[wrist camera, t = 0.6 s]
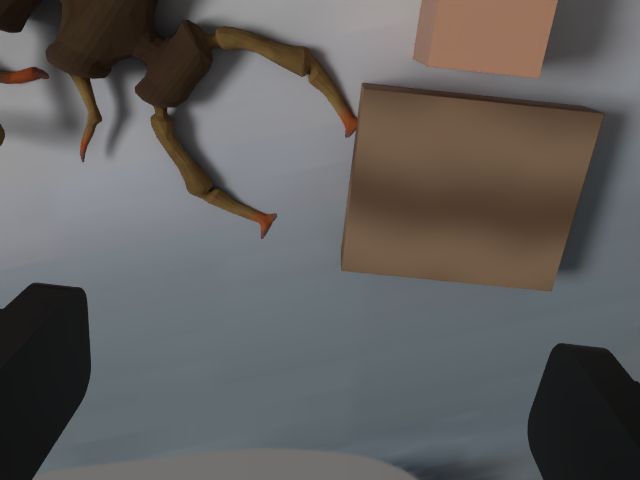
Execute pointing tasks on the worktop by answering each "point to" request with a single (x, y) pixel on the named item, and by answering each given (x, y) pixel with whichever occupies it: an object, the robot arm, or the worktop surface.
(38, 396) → the robot arm
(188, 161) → the toy
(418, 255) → the base board
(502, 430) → the worktop surface
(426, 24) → the terracotta block
